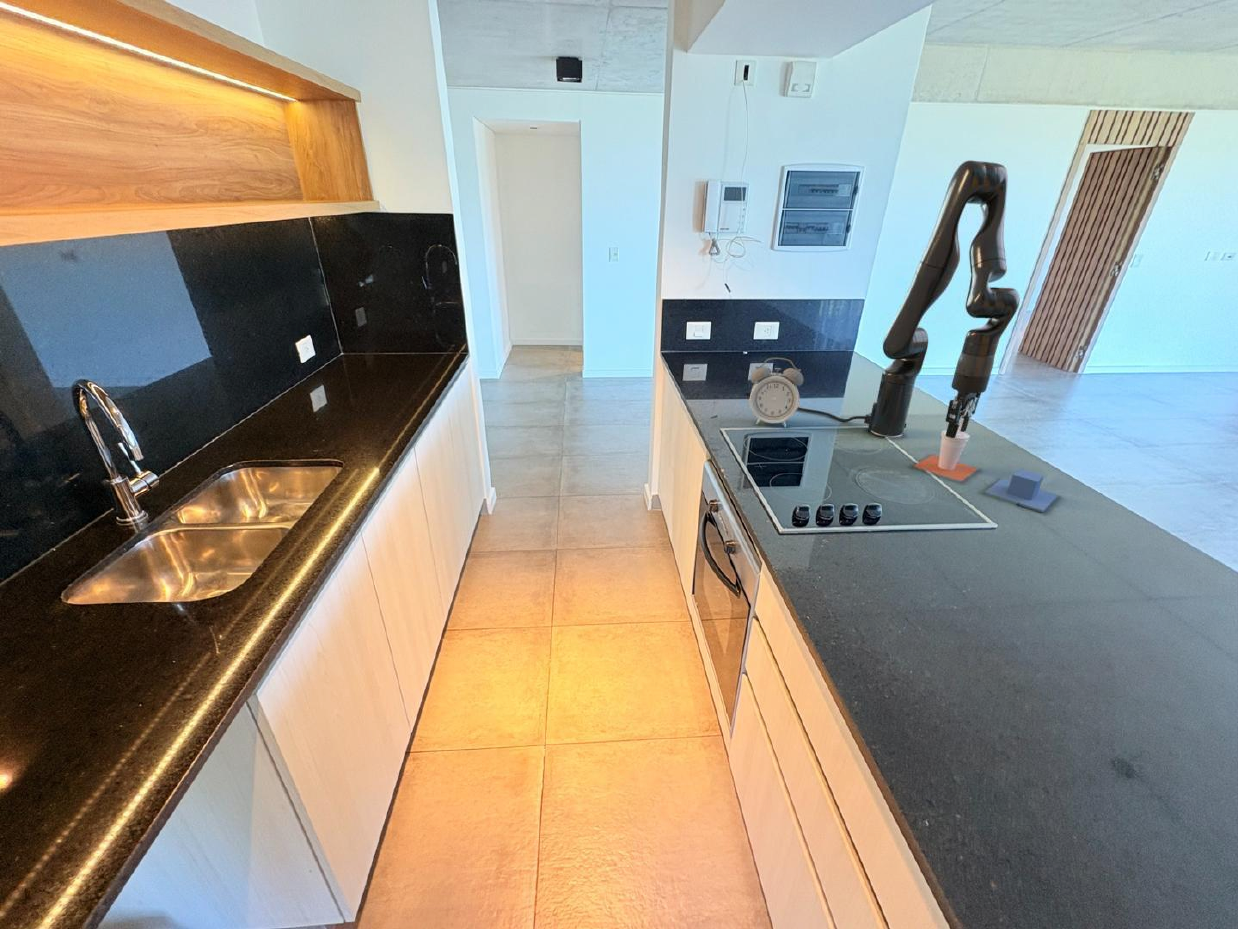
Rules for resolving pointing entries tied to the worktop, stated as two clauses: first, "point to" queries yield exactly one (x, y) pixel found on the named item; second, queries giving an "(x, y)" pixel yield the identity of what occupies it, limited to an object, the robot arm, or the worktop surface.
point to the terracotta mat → (958, 473)
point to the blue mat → (1036, 503)
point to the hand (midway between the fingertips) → (955, 433)
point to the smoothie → (952, 448)
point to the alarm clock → (775, 393)
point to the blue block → (1025, 484)
